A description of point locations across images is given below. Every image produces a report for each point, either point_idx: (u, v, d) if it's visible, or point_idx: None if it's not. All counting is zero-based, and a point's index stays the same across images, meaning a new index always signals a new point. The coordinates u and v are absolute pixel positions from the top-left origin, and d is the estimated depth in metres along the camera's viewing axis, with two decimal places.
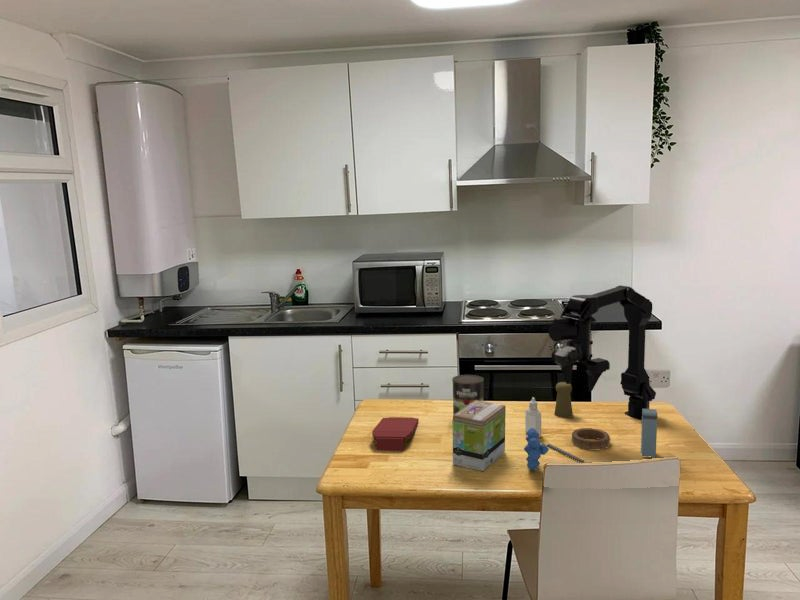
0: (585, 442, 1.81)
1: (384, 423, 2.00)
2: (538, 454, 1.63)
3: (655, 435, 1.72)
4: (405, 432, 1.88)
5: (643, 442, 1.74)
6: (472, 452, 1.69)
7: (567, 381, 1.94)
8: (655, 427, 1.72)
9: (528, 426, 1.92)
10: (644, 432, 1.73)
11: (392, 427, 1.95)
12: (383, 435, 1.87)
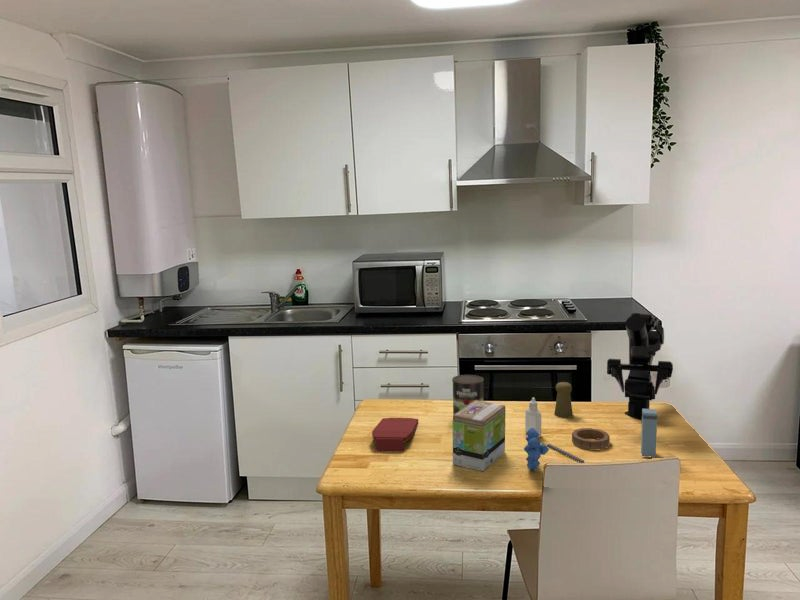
0: (585, 442, 1.81)
1: (384, 423, 2.00)
2: (538, 454, 1.63)
3: (655, 435, 1.72)
4: (405, 432, 1.88)
5: (643, 442, 1.74)
6: (472, 452, 1.69)
7: None
8: (655, 427, 1.72)
9: (528, 426, 1.92)
10: (644, 432, 1.73)
11: (392, 427, 1.94)
12: (383, 435, 1.86)
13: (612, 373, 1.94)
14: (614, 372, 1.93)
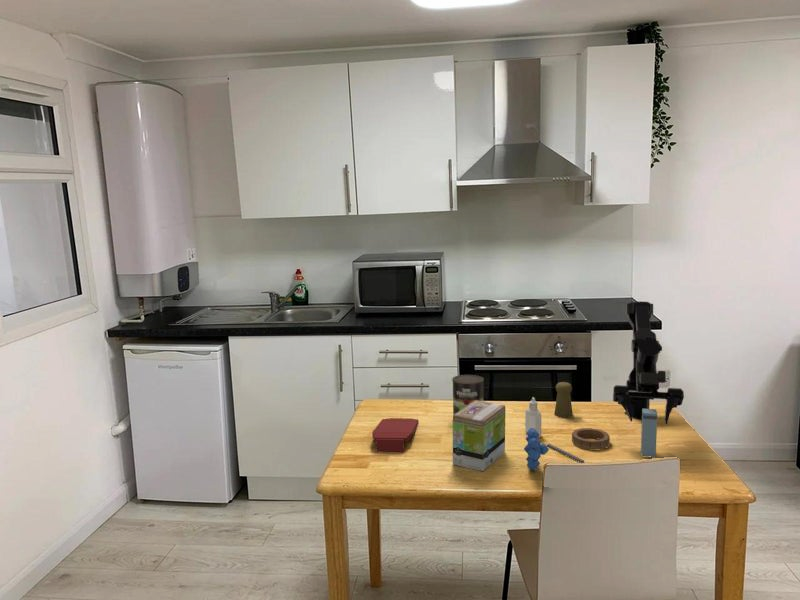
0: (585, 442, 1.81)
1: (384, 424, 1.99)
2: (538, 454, 1.63)
3: (655, 435, 1.72)
4: (405, 433, 1.87)
5: (643, 442, 1.74)
6: (472, 452, 1.69)
7: None
8: (655, 427, 1.72)
9: (528, 426, 1.92)
10: (644, 432, 1.73)
11: (392, 428, 1.94)
12: (383, 436, 1.85)
13: (619, 401, 1.82)
14: (621, 400, 1.81)
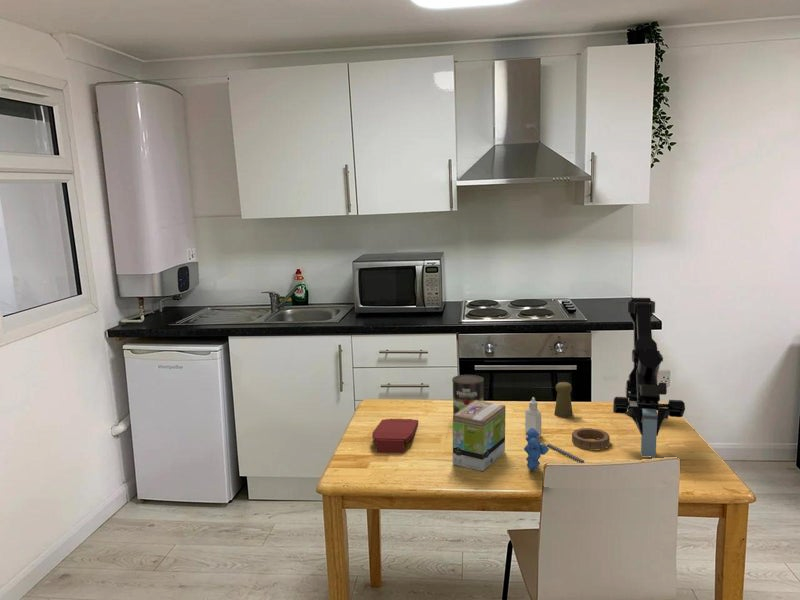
0: (585, 442, 1.81)
1: (384, 425, 1.99)
2: (538, 454, 1.63)
3: (655, 435, 1.72)
4: (405, 434, 1.87)
5: (643, 442, 1.74)
6: (472, 452, 1.69)
7: (642, 430, 1.74)
8: (655, 427, 1.72)
9: (528, 426, 1.92)
10: (644, 432, 1.73)
11: (392, 429, 1.93)
12: (383, 437, 1.85)
13: (629, 413, 1.79)
14: (631, 412, 1.78)
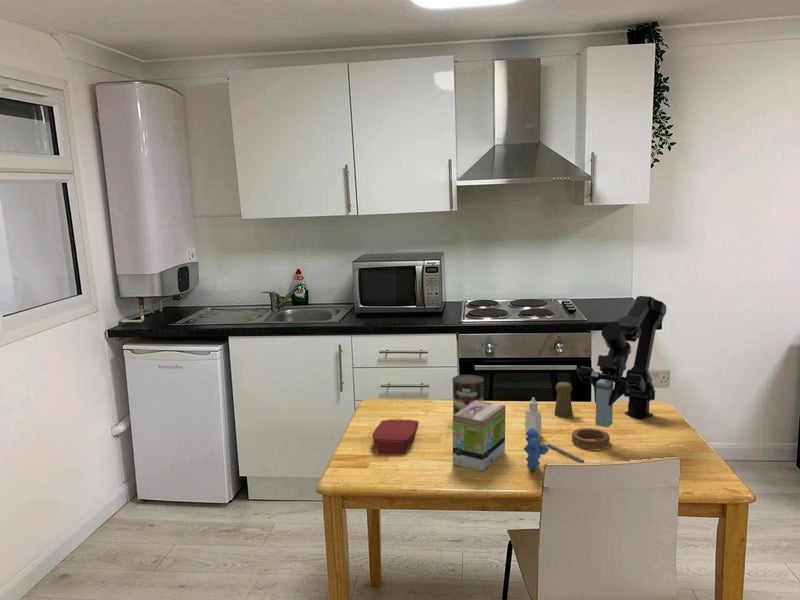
0: (585, 442, 1.81)
1: (384, 426, 1.98)
2: (538, 454, 1.63)
3: (607, 405, 1.78)
4: (406, 435, 1.86)
5: (596, 411, 1.80)
6: (472, 452, 1.69)
7: None
8: (606, 397, 1.77)
9: (528, 426, 1.92)
10: (597, 400, 1.79)
11: (392, 430, 1.92)
12: (384, 438, 1.84)
13: (592, 383, 1.85)
14: None
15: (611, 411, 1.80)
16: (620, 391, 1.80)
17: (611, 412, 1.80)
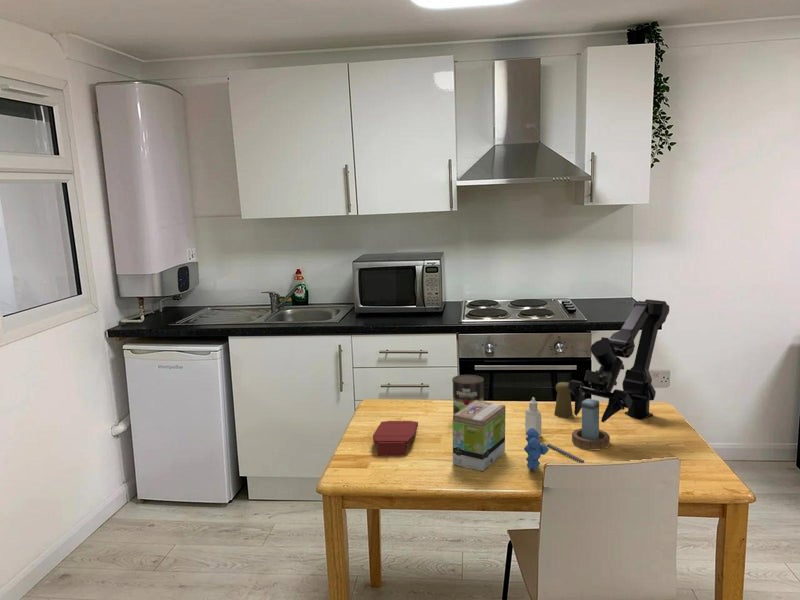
0: (585, 442, 1.81)
1: (384, 427, 1.97)
2: (538, 454, 1.63)
3: (592, 424, 1.82)
4: (407, 436, 1.85)
5: (582, 429, 1.84)
6: (472, 452, 1.69)
7: (576, 411, 1.86)
8: (591, 416, 1.81)
9: (528, 426, 1.92)
10: (583, 419, 1.84)
11: (392, 431, 1.91)
12: (384, 439, 1.83)
13: None
14: None
15: (597, 430, 1.84)
16: (615, 408, 1.82)
17: (597, 431, 1.84)
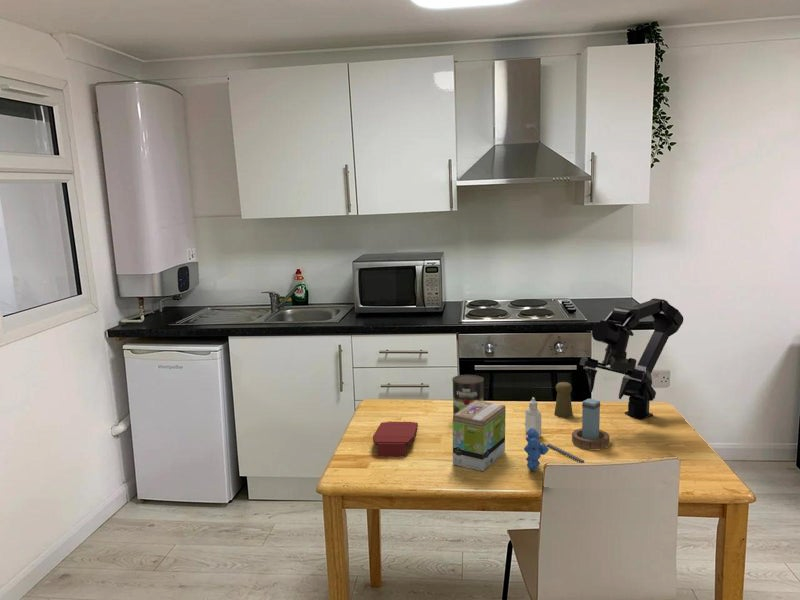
0: (585, 442, 1.81)
1: (383, 428, 1.96)
2: (538, 454, 1.63)
3: (592, 424, 1.82)
4: (407, 437, 1.84)
5: (582, 429, 1.84)
6: (472, 452, 1.69)
7: (592, 389, 1.94)
8: (592, 416, 1.82)
9: (528, 426, 1.92)
10: (583, 419, 1.84)
11: (392, 432, 1.90)
12: (384, 440, 1.82)
13: None
14: (587, 369, 1.95)
15: (597, 430, 1.84)
16: None
17: (597, 431, 1.84)
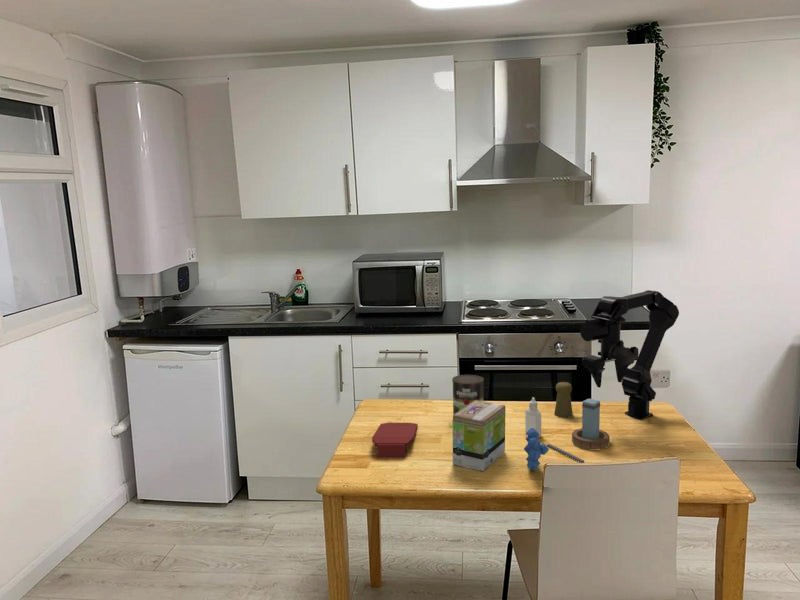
0: (585, 442, 1.81)
1: (383, 429, 1.95)
2: (538, 454, 1.63)
3: (592, 424, 1.82)
4: (406, 438, 1.83)
5: (582, 429, 1.84)
6: (472, 452, 1.69)
7: None
8: (592, 416, 1.82)
9: (528, 426, 1.92)
10: (583, 419, 1.84)
11: (392, 433, 1.90)
12: (384, 441, 1.82)
13: None
14: None
15: (597, 430, 1.84)
16: (620, 364, 2.00)
17: (597, 431, 1.84)
